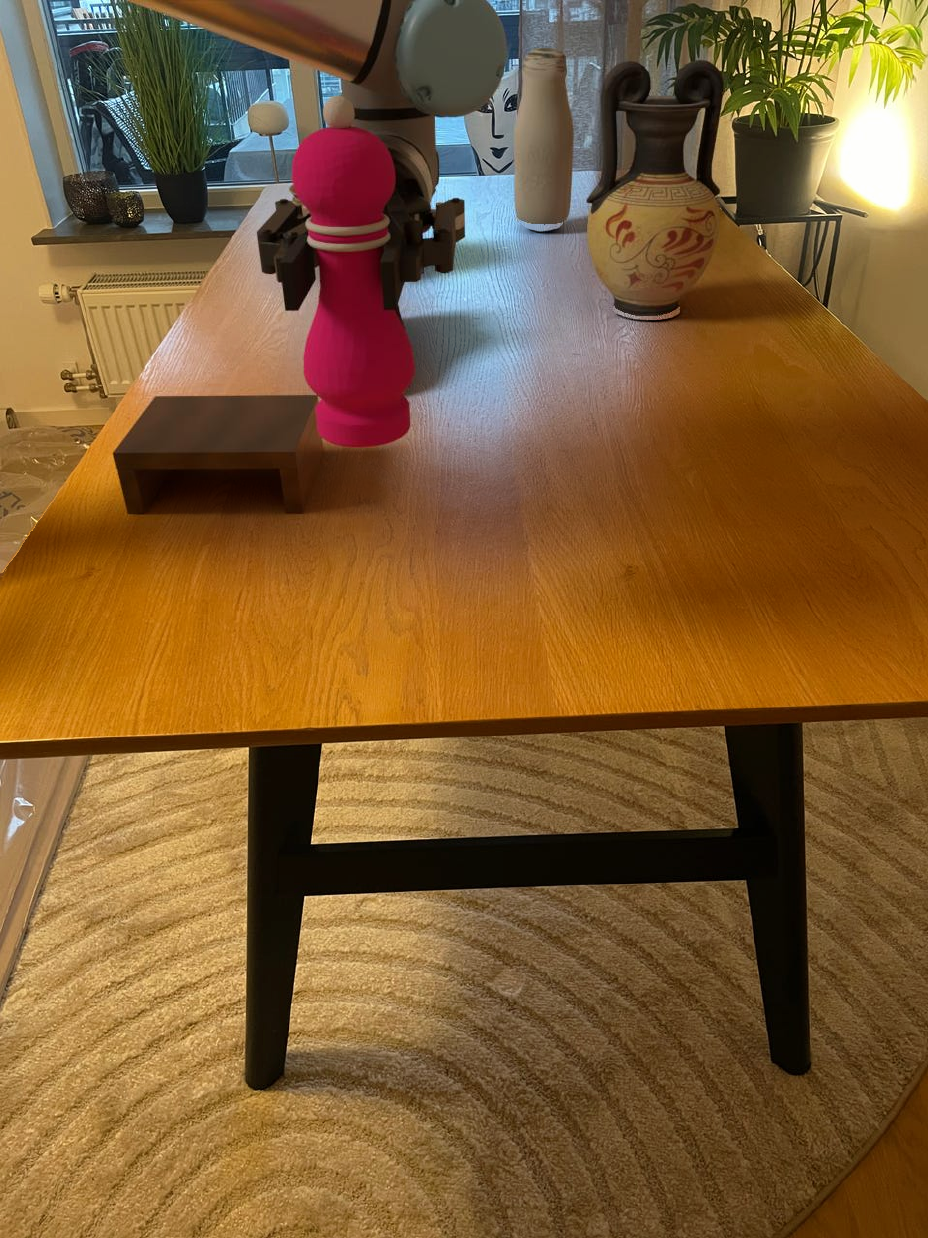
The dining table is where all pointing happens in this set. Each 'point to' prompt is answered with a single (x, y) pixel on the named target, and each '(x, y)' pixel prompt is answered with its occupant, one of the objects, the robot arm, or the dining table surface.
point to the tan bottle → (543, 140)
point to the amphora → (655, 189)
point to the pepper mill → (352, 285)
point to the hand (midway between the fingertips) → (338, 286)
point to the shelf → (221, 443)
